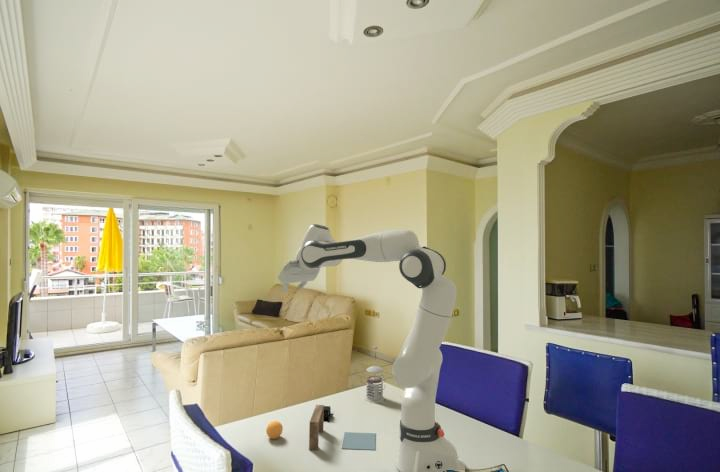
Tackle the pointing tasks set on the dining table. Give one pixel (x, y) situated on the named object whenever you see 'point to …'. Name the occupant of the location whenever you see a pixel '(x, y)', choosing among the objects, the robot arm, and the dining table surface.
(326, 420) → the black stepped block
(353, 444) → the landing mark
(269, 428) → the ball
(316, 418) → the bridge
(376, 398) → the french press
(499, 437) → the dining table surface
